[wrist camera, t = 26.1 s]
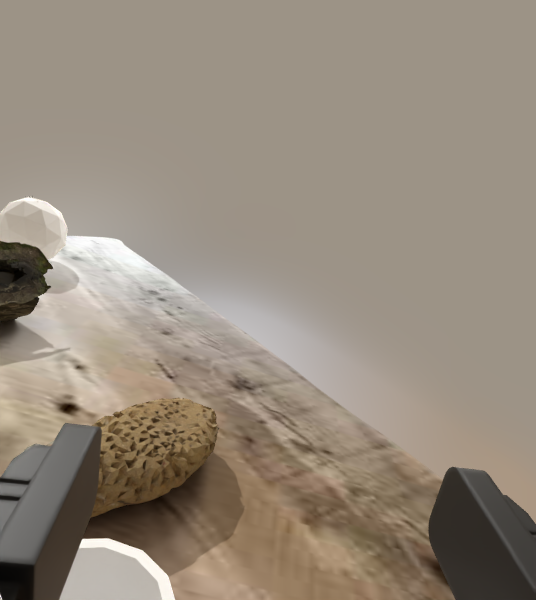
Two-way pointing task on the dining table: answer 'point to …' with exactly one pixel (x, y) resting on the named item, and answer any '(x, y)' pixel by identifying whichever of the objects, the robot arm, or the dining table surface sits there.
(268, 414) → the dining table surface
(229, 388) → the dining table surface
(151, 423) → the sponge
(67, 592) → the foam cup
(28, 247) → the hollow geode rock
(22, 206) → the geodesic sphere
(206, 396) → the dining table surface
